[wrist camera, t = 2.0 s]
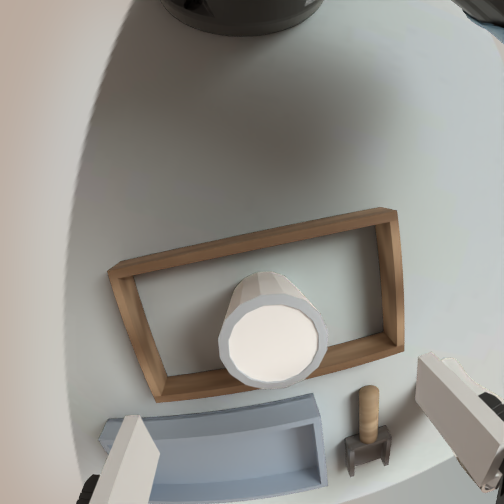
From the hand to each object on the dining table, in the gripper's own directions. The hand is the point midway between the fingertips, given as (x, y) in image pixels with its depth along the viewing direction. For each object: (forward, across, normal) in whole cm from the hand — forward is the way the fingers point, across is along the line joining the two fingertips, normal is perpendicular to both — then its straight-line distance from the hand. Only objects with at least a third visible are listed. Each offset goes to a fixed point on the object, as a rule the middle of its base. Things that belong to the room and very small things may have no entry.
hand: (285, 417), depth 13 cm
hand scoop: (+13, +8, -18) cm, 24 cm away
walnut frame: (+13, 0, 0) cm, 13 cm away
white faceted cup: (+14, 0, 0) cm, 14 cm away
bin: (+13, -8, -16) cm, 22 cm away
